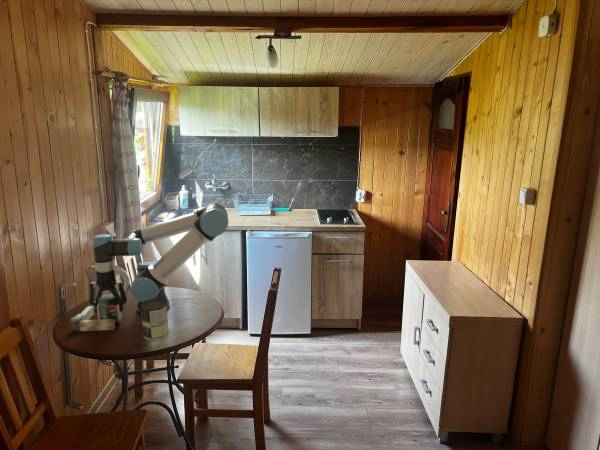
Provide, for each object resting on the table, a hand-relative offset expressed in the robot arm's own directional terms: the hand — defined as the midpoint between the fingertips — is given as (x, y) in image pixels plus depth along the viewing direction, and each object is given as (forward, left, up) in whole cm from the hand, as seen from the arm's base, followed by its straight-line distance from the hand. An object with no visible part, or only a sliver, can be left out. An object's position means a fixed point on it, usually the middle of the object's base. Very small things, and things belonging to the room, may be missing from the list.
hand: (110, 318), depth 194 cm
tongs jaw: (+12, -1, -2) cm, 12 cm away
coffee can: (-23, +13, -3) cm, 27 cm away
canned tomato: (0, 0, -1) cm, 1 cm away
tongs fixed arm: (+5, +6, -2) cm, 8 cm away
